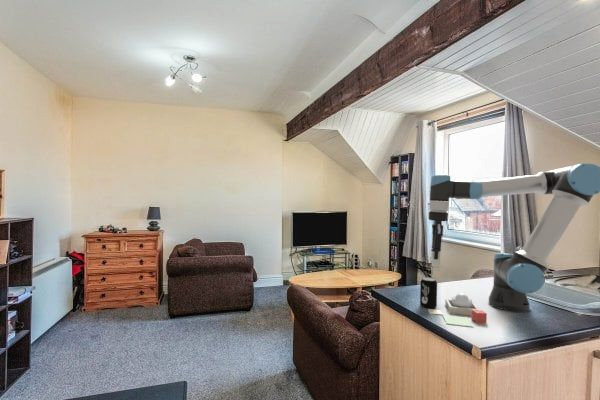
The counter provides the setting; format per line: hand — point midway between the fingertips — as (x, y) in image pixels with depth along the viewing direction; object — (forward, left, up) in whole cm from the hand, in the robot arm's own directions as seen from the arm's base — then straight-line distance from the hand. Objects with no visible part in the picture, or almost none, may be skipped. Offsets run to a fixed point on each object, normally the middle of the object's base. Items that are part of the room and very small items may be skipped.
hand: (435, 266), depth 137 cm
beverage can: (+2, 0, -18) cm, 18 cm away
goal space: (-7, +14, -17) cm, 23 cm away
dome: (-11, 0, -16) cm, 19 cm away
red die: (-15, +11, -17) cm, 25 cm away
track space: (0, +7, -17) cm, 19 cm away
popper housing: (-11, 0, -17) cm, 20 cm away
